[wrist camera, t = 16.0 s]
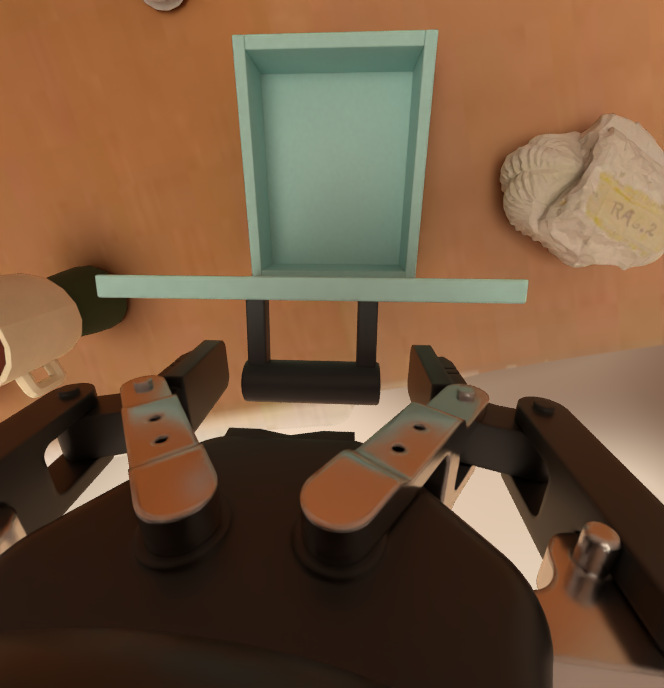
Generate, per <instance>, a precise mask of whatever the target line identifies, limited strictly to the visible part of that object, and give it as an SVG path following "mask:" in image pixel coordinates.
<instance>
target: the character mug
mask: <svg viewBox="0 0 664 688" xmlns="http://www.w3.org/2000/svg"><path fill="white" fill-rule="evenodd" d="M95 275H110V274H109V273H107V272H106V271H104V270H101V269H98V268H95V267H92V266H83V267H75V268H72V269H69V270H66V271H62V272H60V273H57V274H55V275H53V276H50V277H48V278H43V277H39V276H34V275H30V274H23V273H17V274H9V275H0V387H1V386H3V385H5V384H7V383H9V382H11V381H13V380H15V381H16V382H17V384H18V385H19V386H20V388H21V389H22V390H23V392H24V393H25V394H26V395H28V396H29V397H31V398H36V397H40V396H42V395H44V394H45V393H47V392H49V391H51V390H52V389H54V388H56V387H57V386H59V385H61V384H62V383H63V382H64V381H65V380H66V379H67V375H66V372H65V371H64V369H63V368H62V366H61V365H60V363H59V362H58V360H57V359H58V358H60V357H61V356H63V355H65V354H66V353H68V352H69V351H71V350H72V349H73V348H74V347H75V345H76V344H77V342H78V340H79V339H80V337H81V336H85V335H89V334H93V333H97V332H100V331H103V330H106V329H109V328H112V327H113V326H115V325H116V324H118V323H119V322H121V321H122V319H123V317H124V315H125V313H126V311H127V299H126V298H103V297H98V295H97V287H96V280H95ZM42 366H43V367H44V368H45V370H46V371H47V372H48V374H49V376H50V377H48V378H46V379H44V380H42V381H40V382H37V381H36V379H35V378H34V376H33V375H32V374H31V372H32V371H34V370H36V369H38V368H40V367H42Z"/></svg>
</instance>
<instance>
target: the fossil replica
mask: <svg viewBox="0 0 664 688" xmlns="http://www.w3.org/2000/svg"><path fill="white" fill-rule="evenodd" d="M500 182H501V184H502V186H501V190H502V192H504V193H505V194H504V197H503V202H504V204H503V208H504V211H505V212H506V213H505V214H506V216H507V218H508V219H509V222H510V224H511V225H514V226H515V230H517V231H519V230H520V231H521V232H522V234H523V235H528V236H530V237H531V238H532V240H533V241H539V242H541V244H542V246H543V247H546V248H548V251H549V252H550V253H552V254H554V255H555V256H556V257H557V258H558V259H559V260H561V261H562V262H563V263H564V264H566V265H569V266H571V267H576V268H578V267H586V266H589V265H592V264H597V265H615V266H618V267H620V268H621V269H622V270H626V269H627V268H631V267H637V266H644V265H647V264H649V263H652V262H654V261H656V260H657V259H658V258H659V257H661V255H662V254H664V152H663V150H662V149H661V148H660V147H659V146H658V145H657V143H656V141H655V139H654V138H653V137H652V136H651V135H650V133H649V132H648V131H647V130H646V129H643V127H642V126H641V125H640V123H639V122H633V121H631V120H629V119H627V118H625V117H620V116H617V115H616V114H614V113H612V114H604V115H602V116H600V117H599V119H598V120H597V121H596V122H595V123H594V124H593V125H592V126H591V127H589V128H588V129H587V130H586V131H584V132H583V133H579V132H576V131H572V132H569V133H563V134H544V135H539V136H536V137H534V138H533V139H531V140H530V141H529V142H528V144H527V145H525V146H523V147H518V149H517V150H516V151H513V152H512V153H510V154H509V155H507V157H506V159H505V161H504V164H503V166H502V168H501V175H500Z"/></svg>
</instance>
